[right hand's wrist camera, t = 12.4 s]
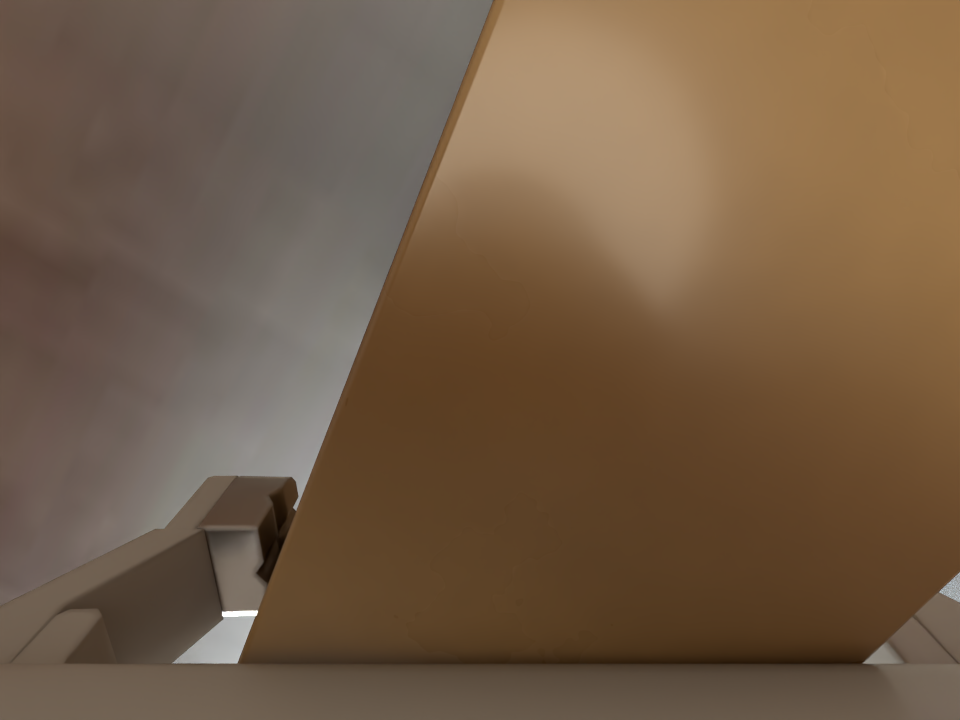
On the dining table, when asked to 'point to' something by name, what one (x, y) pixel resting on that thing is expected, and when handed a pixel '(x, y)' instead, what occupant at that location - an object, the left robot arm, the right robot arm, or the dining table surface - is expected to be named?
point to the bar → (655, 352)
